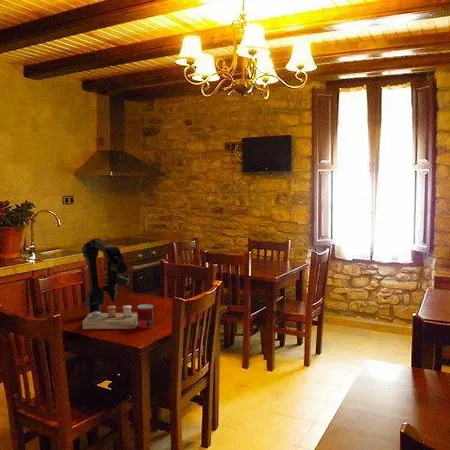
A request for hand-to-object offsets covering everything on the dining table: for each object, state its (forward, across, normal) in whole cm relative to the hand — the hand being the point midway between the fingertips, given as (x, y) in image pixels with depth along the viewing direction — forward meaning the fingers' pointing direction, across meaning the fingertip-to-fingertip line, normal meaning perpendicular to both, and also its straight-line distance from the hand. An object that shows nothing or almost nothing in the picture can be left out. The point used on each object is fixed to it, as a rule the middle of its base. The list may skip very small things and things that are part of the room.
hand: (113, 301), depth 233 cm
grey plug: (+12, 0, +9) cm, 15 cm away
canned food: (+13, -4, -17) cm, 22 cm away
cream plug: (+9, +1, -7) cm, 11 cm away
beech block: (+12, +1, +1) cm, 12 cm away
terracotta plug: (+9, +1, +1) cm, 9 cm away
